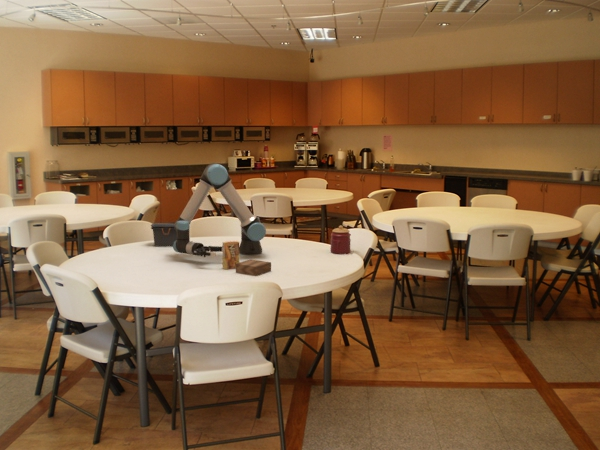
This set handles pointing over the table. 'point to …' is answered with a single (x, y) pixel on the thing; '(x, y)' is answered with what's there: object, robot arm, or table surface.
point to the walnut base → (253, 267)
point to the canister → (340, 241)
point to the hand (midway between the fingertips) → (223, 252)
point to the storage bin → (164, 234)
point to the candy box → (230, 254)
